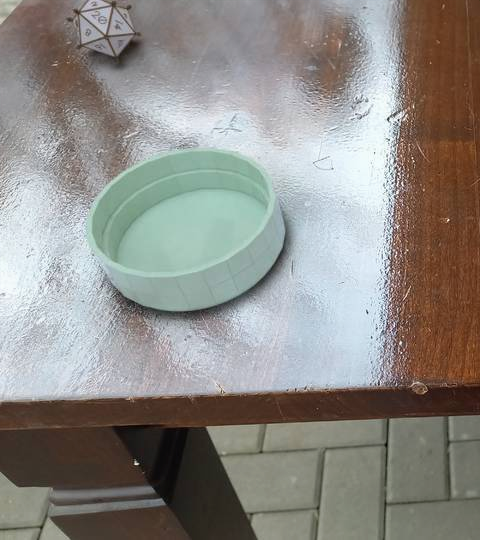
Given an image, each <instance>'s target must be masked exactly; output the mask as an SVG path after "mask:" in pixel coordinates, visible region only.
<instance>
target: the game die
mask: <svg viewBox="0 0 480 540" xmlns="http://www.w3.org/2000/svg"><path fill="white" fill-rule="evenodd" d="M132 7H133V6H132V4H128V5H127V6H126V7H124V6H122V5H120V4H117V1H116V0H111V1H110V0H86V1H85V2H84V4H83V5H82V6H81V7H80V9H78V8H72V11H73V13H74V14H75V15H74V16H73V18H72V17H66V18H65V20H66V21H68V22H69V23H72V24H73V27H74V30H75V33H76V36H77V39H78V42H79V44H77V45H75V47H76V48H75V50H81V49H82V48H84V49H85V48H86V49H89V50H91V51H93V52H94V53H95V52H97V53H99V54H104V55H106V56H109V57H111V58H114V61H115V62H116V63H117V64H120V61H121V60H120V58H119V57H120V55H121V54H122V53H123V51H124V50H125V49H126V48H127V46H128V45H129V44H134V38H135V37H136V36H137V37H141V36H143V33H141V31H136V28H135V25H134V24H133V21H132V18H131V15H130V12H129V10H131V9H132Z"/></svg>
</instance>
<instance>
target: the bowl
mask: <svg viewBox="0 0 480 540" xmlns="http://www.w3.org/2000/svg"><path fill="white" fill-rule="evenodd" d="M275 187H276V186H275V183H274V180H272V178H271V176H270V175H269V173H268V171H266V169H265V167H263V166H262V165H260V164H259V163H258V162H256V161H255V160H254V159H252V158H251V157H249V156H246V155H245V154H242V153H239V152H236V151H234V150H230V149H224V148H217V147H187V148H182V149H176V150H170V151H165V152H163V153H161V154H157V155H154V156H152V157H151V156H150V157H149V158H146V159H143V160H142V161H140V162H137V163H135V164H133V165H132V166H130V167H128V168H127V169H125V170H123V171H122V172H121V173H119V174H118V175H117V176H115V177H114V178H113V179H112V180H111V181H109V182H108V183H107V184H105V186H104V188H102V190H101V191H100V192H99V193H98V194H97V196H96V197H95V198H94V200H93V201H92V203H91V206H90V208H89V211H88V213H87V215H86V218H85V219H86V220H85V234H84V235H85V237H86V240H87V243H88V245H89V247H90V250H91V252H92V253H93V255H94V257H95V259H96V260H97V262H98V263H99V265H100V266H101V268H102V270H103V271H104V273H105V274H106V276H107V277H108V280H109V281H110V283H111V284H112V286H114V287H115V288H116V289H117V291H119V293H121V294H122V295H123V296H124V297H125V298H127V299H129V300H131V301H133V302H135V303H137V304H139V305H140V306H143V307H147V308H151V309H155V310H160V311H167V312H190V311H191V312H193V311H199V310H203V309H208V308H211V307H215V306H219V305H221V304H223V303H226V302H229V301H231V300H233V299H235V298H237V297H239V296H241V295H243V294H244V293H246V292H247V291H249V290H250V289H252V287H254V286H255V285H257V284H258V283H259V282H260V281H261V280H262V279H263V278H264V277H265V276H266V275H267V274H268V273H269V271H270V270H271V269H272V267H273V266H274V264H275V262H276V261H277V259H278V257H279V255H280V253H281V251H282V249H283V247H284V243H285V242H284V241H285V236H286V226H285V221H284V215H283V213H282V208H281V206H280V202H279V199H278V198H279V197H278V195H277V192H276V188H275Z"/></svg>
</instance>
